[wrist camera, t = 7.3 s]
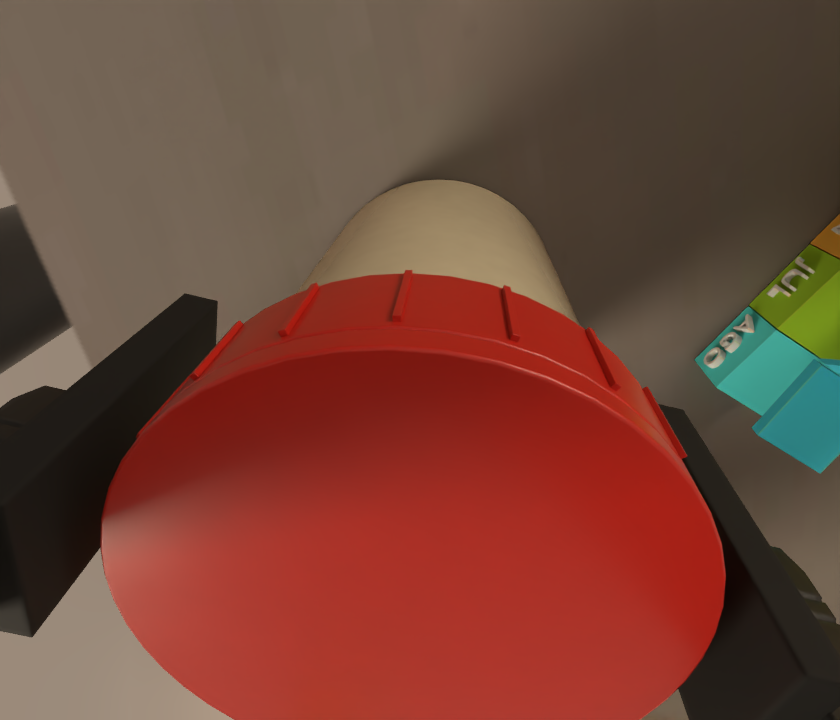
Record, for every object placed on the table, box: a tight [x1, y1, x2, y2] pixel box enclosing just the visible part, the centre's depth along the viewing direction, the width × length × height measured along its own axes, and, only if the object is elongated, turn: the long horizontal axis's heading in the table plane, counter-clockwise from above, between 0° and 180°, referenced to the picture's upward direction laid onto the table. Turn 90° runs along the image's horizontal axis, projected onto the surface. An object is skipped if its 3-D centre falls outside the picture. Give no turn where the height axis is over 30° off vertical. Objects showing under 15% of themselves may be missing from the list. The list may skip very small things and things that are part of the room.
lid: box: [100, 270, 726, 720], centre depth 9 cm, size 9×9×2 cm
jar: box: [297, 180, 580, 326], centre depth 14 cm, size 8×8×12 cm
